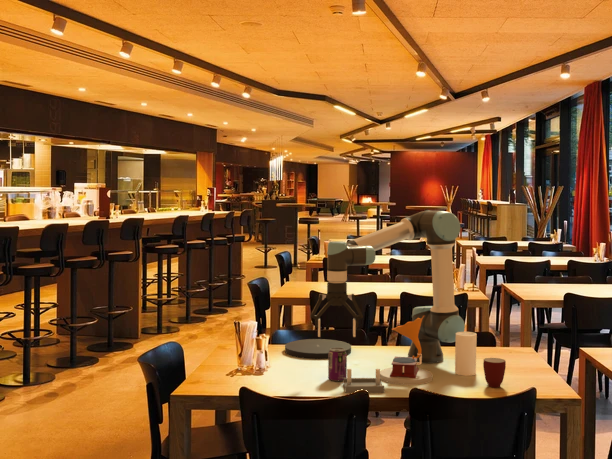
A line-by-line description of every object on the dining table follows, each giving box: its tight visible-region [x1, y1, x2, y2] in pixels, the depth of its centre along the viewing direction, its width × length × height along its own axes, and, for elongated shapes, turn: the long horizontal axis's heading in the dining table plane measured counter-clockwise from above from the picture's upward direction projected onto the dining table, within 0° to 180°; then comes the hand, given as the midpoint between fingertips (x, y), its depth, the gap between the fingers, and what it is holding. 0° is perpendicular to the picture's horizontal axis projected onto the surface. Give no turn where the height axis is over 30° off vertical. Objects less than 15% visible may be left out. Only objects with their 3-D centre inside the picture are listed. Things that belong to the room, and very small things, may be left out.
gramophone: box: [380, 316, 433, 386], centre depth 298 cm, size 20×20×25 cm
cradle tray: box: [343, 368, 385, 394], centre depth 283 cm, size 14×12×7 cm
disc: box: [284, 338, 352, 360], centre depth 346 cm, size 30×30×3 cm
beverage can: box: [327, 348, 348, 382], centre depth 295 cm, size 7×7×12 cm
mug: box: [482, 357, 507, 389], centre depth 287 cm, size 11×8×10 cm
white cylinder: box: [454, 331, 478, 377], centre depth 306 cm, size 8×8×16 cm
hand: (336, 336), depth 295 cm, fingers open, 13 cm apart
